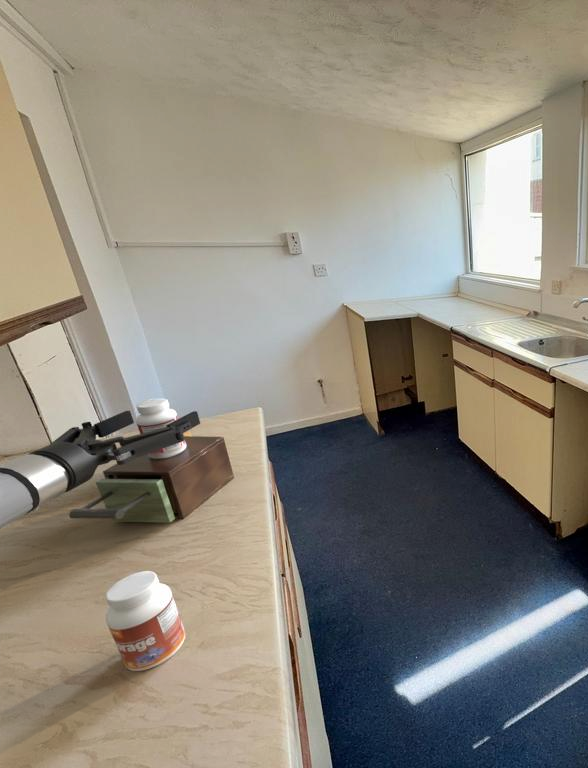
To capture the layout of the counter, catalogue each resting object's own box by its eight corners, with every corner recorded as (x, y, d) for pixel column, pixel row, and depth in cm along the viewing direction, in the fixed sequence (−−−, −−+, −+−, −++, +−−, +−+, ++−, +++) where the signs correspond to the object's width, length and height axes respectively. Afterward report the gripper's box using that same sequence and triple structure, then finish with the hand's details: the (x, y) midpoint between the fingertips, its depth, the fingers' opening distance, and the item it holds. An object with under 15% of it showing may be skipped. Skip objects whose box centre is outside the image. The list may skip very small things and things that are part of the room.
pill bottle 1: (161, 446, 83) (145, 397, 80) (193, 444, 84) (179, 396, 81) (140, 461, 78) (122, 409, 74) (175, 458, 78) (159, 407, 75)
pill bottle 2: (112, 675, 49) (80, 608, 46) (149, 630, 55) (124, 567, 51) (165, 671, 50) (138, 604, 46) (197, 626, 56) (175, 564, 52)
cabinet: (183, 519, 77) (168, 472, 74) (120, 518, 78) (102, 471, 74) (234, 477, 91) (223, 436, 88) (180, 477, 91) (167, 435, 88)
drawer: (137, 548, 69) (121, 506, 66) (73, 547, 69) (54, 505, 66) (220, 482, 88) (210, 447, 85) (170, 481, 88) (158, 446, 85)
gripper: (-25, 494, 61) (108, 433, 81) (135, 496, 61) (229, 434, 81) (-47, 451, 59) (96, 399, 79) (119, 453, 59) (220, 400, 79)
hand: (163, 417), depth 80 cm, fingers open, 13 cm apart
